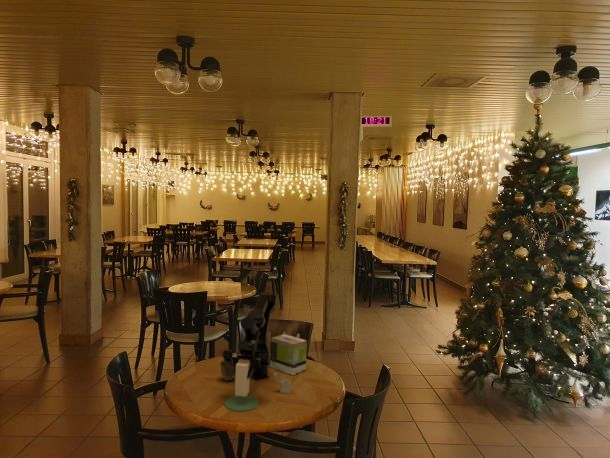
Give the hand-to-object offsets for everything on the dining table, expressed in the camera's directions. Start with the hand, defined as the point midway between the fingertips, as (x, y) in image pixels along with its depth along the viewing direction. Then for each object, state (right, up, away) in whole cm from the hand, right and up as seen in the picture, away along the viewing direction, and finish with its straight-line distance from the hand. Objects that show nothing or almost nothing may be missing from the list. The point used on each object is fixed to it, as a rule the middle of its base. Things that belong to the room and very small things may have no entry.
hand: (241, 378), depth 166 cm
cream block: (0, -7, +2) cm, 7 cm away
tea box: (+16, -10, +40) cm, 44 cm away
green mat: (0, -10, +2) cm, 11 cm away
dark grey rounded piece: (-9, -9, +24) cm, 27 cm away
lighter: (+15, -11, +14) cm, 23 cm away
